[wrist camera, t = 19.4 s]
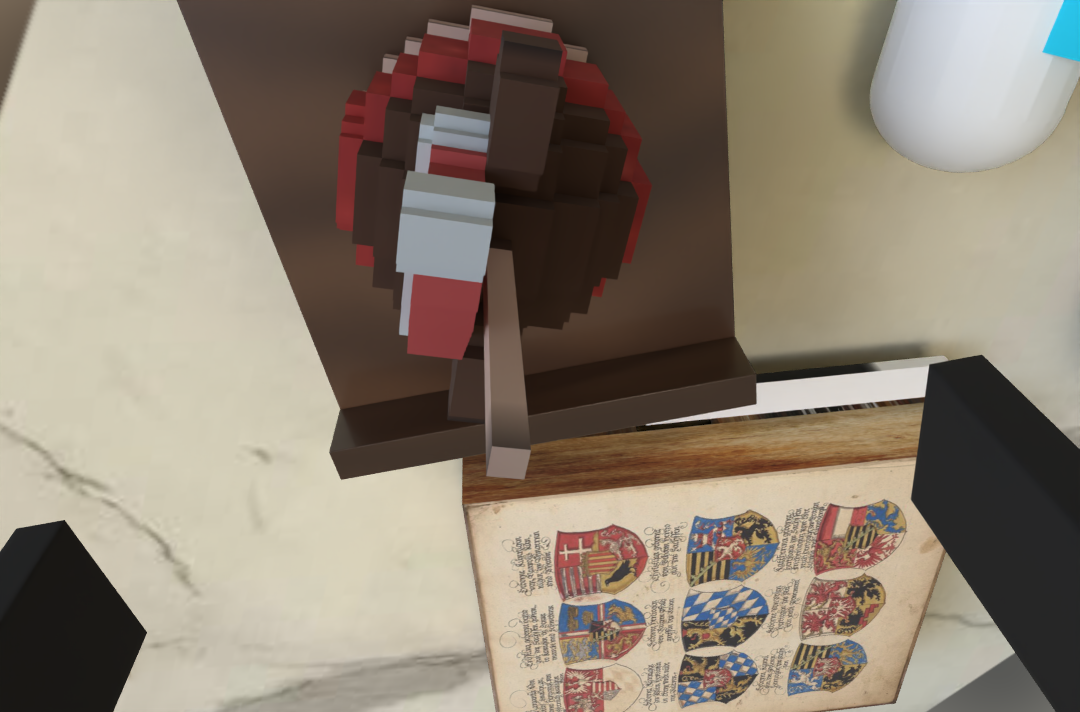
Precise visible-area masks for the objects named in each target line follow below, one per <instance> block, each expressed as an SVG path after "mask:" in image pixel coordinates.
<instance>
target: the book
mask: <svg viewBox="0 0 1080 712" xmlns="http://www.w3.org/2000/svg"><path fill="white" fill-rule="evenodd" d="M945 361H949V360H948V359H947V358H946V357H945V356H934V357H924V358H914V359H904V360H894V361H884V362H874V363H864V364H854V365H844V366H834V367H824V368H814V369H804V370H794V371H784V372H774V373H764V374H756V391H757V404H756V405H750V406H745V407H739V408H734V409H728V410H723V411H717V412H712V413H706V414H701V415H695V416H690V417H684V418H679V419H673V420H668V421H662V422H656V423H651V424H646V425H654V424H664V423H674V422H684V421H693V420H703V419H711V422H712V424H710V425H701V426H691V427H681V428H671V429H661V430H652V431H642V432H637V429H636V426H634V427H629V428H623V429H618V430H612V431H607V432H601V433H596V434H590V435H585V436H579V437H574V438H568V439H563V440H557V441H552V442H546V443H541V444H535V445H531V452H530V457H529V461H528V465H527V470H526V474H525V479H513V478H502V477H491V476H486V454H480V455H475V456H469V457H464V458H463V476H462V505H463V511H464V518H465V524H466V530H467V536H468V542H469V548H470V555H471V561H472V567H473V573H474V579H475V585H476V592H477V598H478V604H479V610H480V616H481V622H482V629H483V635H484V641H485V647H486V653H487V659H488V666H489V672H490V678H491V684H492V690H493V696H494V703H495V709H496V712H825V711H834V710H843V709H851V708H860V707H868V706H877V705H885V704H894V703H896V701H897V698H898V695H899V692H900V689H901V686H902V683H903V680H904V677H905V674H906V671H907V668H908V665H909V662H910V659H911V656H912V653H913V649H914V646H915V643H916V640H917V637H918V634H919V631H920V628H921V625H922V622H923V619H924V616H925V613H926V610H927V607H928V604H929V601H930V598H931V595H932V592H933V589H934V586H935V583H936V580H937V577H938V574H939V571H940V568H941V565H942V562H943V559H944V556H945V553H946V550H945V549H944V548H943V546H942V545H941V543H940V542H939V540H938V539H937V537H936V536H935V534H934V533H933V531H932V530H931V529H930V527H929V526H928V524H927V523H926V521H925V520H924V518H923V517H922V515H921V514H920V512H919V511H918V510H917V508H916V507H915V505H914V504H913V502H912V501H911V494H912V486H913V479H914V472H915V465H916V457H917V450H918V443H919V436H920V428H921V421H922V414H923V407H924V399H925V392H926V385H927V378H928V370H929V364H934V363H940V362H945Z"/></svg>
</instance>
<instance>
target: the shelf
mask: <svg viewBox="0 0 1080 712" xmlns="http://www.w3.org/2000/svg"><path fill="white" fill-rule="evenodd" d="M177 2H178V5H179V7H180V10H181V12H182V15H183V17H184V20H185V22H186V25H187V27H188V30H189V32H190V35H191V37H192V40H193V42H194V45H195V47H196V50H197V52H198V55H199V57H200V60H201V62H202V65H203V67H204V70H205V72H206V75H207V77H208V80H209V82H210V85H211V87H212V90H213V92H214V95H215V97H216V100H217V102H218V105H219V107H220V110H221V112H222V115H223V117H224V120H225V122H226V125H227V127H228V130H229V132H230V135H231V137H232V140H233V142H234V145H235V147H236V150H237V152H238V155H239V157H240V160H241V162H242V165H243V167H244V170H245V172H246V175H247V177H248V180H249V182H250V185H251V187H252V190H253V192H254V195H255V197H256V200H257V202H258V205H259V207H260V210H261V212H262V215H263V217H264V220H265V222H266V225H267V227H268V230H269V232H270V235H271V237H272V240H273V242H274V245H275V247H276V250H277V252H278V255H279V257H280V260H281V262H282V265H283V267H284V270H285V272H286V275H287V277H288V280H289V282H290V285H291V287H292V290H293V292H294V295H295V297H296V300H297V302H298V305H299V307H300V310H301V312H302V315H303V317H304V320H305V322H306V325H307V327H308V330H309V332H310V335H311V337H312V340H313V342H314V345H315V347H316V350H317V352H318V355H319V357H320V360H321V362H322V365H323V367H324V370H325V372H326V375H327V377H328V380H329V382H330V385H331V387H332V390H333V392H334V395H335V397H336V400H337V402H338V405H339V407H340V412H339V416H338V420H337V424H336V428H335V432H334V436H333V440H332V443H331V447H330V451H329V453H330V455H331V457H332V460H333V462H334V464H335V467H336V469H337V471H338V474H339V476H340V478H341V480H342V479H348V478H353V477H359V476H364V475H370V474H375V473H381V472H386V471H392V470H397V469H403V468H408V467H414V466H420V465H425V464H431V463H436V462H442V461H447V460H453V459H458V458H464V457H469V456H475V455H480V454H486V429H485V424H481V423H471V422H461V421H452V420H447V419H448V399H449V389H450V382H451V374H452V361H453V359H451V358H442V357H433V356H425V355H416V354H407V350H408V349H407V348H408V336H406V335H399V327H400V317H401V310H397V309H393V290H391V289H383V288H376V287H372V283H373V269H374V267H369V266H361V265H356V249H357V244H352V233H353V231H347V230H340V229H339V228H337V223H336V202H337V179H338V157H339V136H340V134H341V125H342V120H343V118H344V116H345V106H346V102H347V100H348V98H349V96H350V95H351V93H352V91H353V90H359V91H367V90H368V88H369V86H370V84H371V82H372V80H373V78H374V75H375V73H376V71H378V72H382V69H383V57H384V55H385V54H390V55H396V56H399V55H400V52H401V53H404V52H405V40H406V38H407V36H408V37H413V38H419V39H423V37H424V34H425V33H426V34H427V29H428V21H429V19H433V20H439V21H444V22H449V23H455V24H460V25H466V26H469V25H470V17H471V9H472V5H476V6H482V7H487V8H492V9H497V10H503V11H508V12H513V13H518V14H524V15H529V16H534V17H539V18H545V19H550V20H552V22H553V26H552V32H551V33H555V34H559V36H560V38H561V40H562V42H563V44H568V45H573V46H579V47H584V48H586V49H587V51H588V55H587V60H586V63H590V64H596V65H597V67H598V68H599V70H600V71H601V73H602V75H603V76H604V78H605V79H606V81H607V83H608V84H609V87H608V89H609V90H612V91H613V93H614V94H615V96H616V97H617V99H618V101H619V102H620V104H621V105H622V107H623V109H624V110H625V112H626V114H627V115H628V117H629V118H630V120H631V122H632V123H633V125H634V126H635V128H636V130H637V131H638V133H639V135H640V136H641V138H642V142H641V146H640V149H639V153H638V157H637V159H638V161H639V163H640V165H641V166H642V168H643V170H644V172H645V174H646V175H647V177H648V179H649V181H650V182H651V184H652V188H651V191H650V195H649V199H648V202H647V206H646V210H645V213H644V217H643V221H642V224H641V228H640V232H639V235H638V239H637V243H636V246H635V250H634V254H633V257H632V261H631V264H628V263H622V264H621V268H620V272H619V276H618V279H617V280H615V279H608V278H606V282H605V286H604V290H603V294H602V297H596V296H592V297H591V301H590V305H589V309H588V313H587V314H579V313H571V314H570V319H569V323H568V322H564V324H563V329H562V330H558V329H550V328H542V327H534V326H527V328H524V329H523V334H522V336H520V340H521V350H522V361H523V371H524V382H525V392H526V403H527V413H528V424H529V434H530V445H535V444H541V443H546V442H552V441H557V440H563V439H568V438H574V437H579V436H585V435H590V434H596V433H601V432H607V431H612V430H618V429H623V428H629V427H634V426H640V425H645V424H651V423H656V422H662V421H668V420H673V419H679V418H684V417H690V416H695V415H701V414H706V413H712V412H717V411H723V410H728V409H734V408H739V407H745V406H750V405H756V404H757V391H756V373H755V371H754V370H753V368H752V366H751V364H750V362H749V361H748V359H747V357H746V355H745V353H744V352H743V350H742V348H741V346H740V345H739V343H738V341H737V339H736V337H735V326H734V299H733V272H732V244H731V217H730V190H729V163H728V135H727V108H726V81H725V53H724V26H723V0H177Z"/></svg>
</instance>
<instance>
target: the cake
mask: <svg viewBox="0 0 1080 712" xmlns="http://www.w3.org/2000/svg"><path fill="white" fill-rule="evenodd" d="M552 26H553V22H552V20H550V19H545V18H539V17H534V16H529V15H524V14H518V13H513V12H508V11H503V10H497V9H492V8H487V7H482V6H476V5H472V9H471V17H470V25H469V26H466V25H460V24H455V23H449V22H444V21H439V20H433V19H429V21H428V29H427V34H426V33H425V34H424V37H423V39H419V38H413V37H408V36H407V38H406V40H405V52H404V53H401V52H400V55H399V56H396V55H390V54H385V55H384V57H383V69H382V72H378V71H376V73H375V75H374V78H373V80H372V82H371V84H370V86H369V88H368V90H367V91H359V90H353V91H352V93H351V95H350V96H349V98H348V100H347V102H346V106H345V116H344V118H343V120H342V125H341V134H340V136H339V157H338V179H337V202H336V223H337V228H339V229H340V230H347V231H353V233H352V244H357V249H356V265H361V266H369V267H374V269H373V283H372V287H376V288H383V289H391V290H393V309H397V310H401V317H400V327H399V335H406V336H408V348H407V349H408V350H407V354H416V355H425V356H433V357H442V358H451V359H453V361H452V374H451V382H450V389H449V399H448V419H447V420H452V421H461V422H471V423H481V424H485V429H486V476H491V477H502V478H513V479H525V474H526V470H527V465H528V461H529V457H530V452H531V445H530V434H529V424H528V413H527V403H526V392H525V382H524V371H523V361H522V350H521V340H520V336H522V334H523V329H524V328H527V326H534V327H542V328H550V329H558V330H562V329H563V324H564V322H568V323H569V319H570V314H571V313H579V314H587V313H588V309H589V305H590V301H591V297H592V296H596V297H602V294H603V290H604V286H605V282H606V278H608V279H615V280H617V279H618V276H619V272H620V268H621V264H622V263H628V264H631V261H632V257H633V254H634V250H635V246H636V243H637V239H638V235H639V232H640V228H641V224H642V221H643V217H644V213H645V210H646V206H647V202H648V199H649V195H650V191H651V188H652V184H651V182H650V181H649V179H648V177H647V175H646V174H645V172H644V170H643V168H642V166H641V165H640V163H639V161H638V159H637V157H638V153H639V149H640V146H641V142H642V138H641V136H640V135H639V133H638V131H637V130H636V128H635V126H634V125H633V123H632V122H631V120H630V118H629V117H628V115H627V114H626V112H625V110H624V109H623V107H622V105H621V104H620V102H619V101H618V99H617V97H616V96H615V94H614V93H613V91H612V90H609V89H608V87H609V84H608V83H607V81H606V79H605V78H604V76H603V75H602V73H601V71H600V70H599V68H598V67H597V65H596V64H590V63H586V60H587V55H588V51H587V49H586V48H584V47H579V46H573V45H568V44H563V42H562V40H561V38H560V36H559V34H555V33H551V32H552Z"/></svg>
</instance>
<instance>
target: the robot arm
mask: <svg viewBox="0 0 1080 712" xmlns="http://www.w3.org/2000/svg"><path fill="white" fill-rule="evenodd" d="M911 501H912V502H913V504H914V505H915V507H916V508H917V510H918V511H919V512H920V514H921V515H922V517H923V518H924V520H925V521H926V523H927V524H928V526H929V527H930V529H931V530H932V531H933V533H934V534H935V536H936V537H937V539H938V540H939V542H940V543H941V545H942V546H943V548H944V549H945V550H946V552H947V553H948V555H949V556H950V558H951V559H952V561H953V562H954V564H955V565H956V567H957V568H958V569H959V571H960V572H961V574H962V575H963V577H964V578H965V580H966V581H967V583H968V584H969V586H970V587H971V588H972V590H973V591H974V593H975V594H976V596H977V597H978V599H979V600H980V602H981V603H982V605H983V606H984V607H985V609H986V610H987V612H988V613H989V615H990V616H991V618H992V619H993V621H994V622H995V624H996V625H997V626H998V628H999V629H1000V631H1001V632H1002V634H1003V635H1004V637H1005V638H1006V640H1007V641H1008V643H1009V644H1010V645H1011V647H1012V648H1013V650H1014V651H1015V653H1016V654H1017V656H1018V657H1019V658H1020V660H1021V662H1022V663H1023V664H1024V666H1025V667H1026V669H1027V670H1028V672H1029V673H1030V675H1031V676H1032V677H1033V679H1034V681H1035V682H1036V683H1037V685H1038V686H1039V688H1040V689H1041V691H1042V692H1043V694H1044V695H1045V697H1046V698H1047V699H1048V701H1049V702H1050V704H1051V705H1052V707H1053V708H1054V709H1055V711H1056V712H1080V449H1079V448H1078V447H1077V446H1076V445H1075V444H1074V443H1073V442H1072V441H1070V440H1069V439H1068V438H1067V437H1066V436H1065V435H1064V434H1063V433H1062V432H1061V431H1060V430H1059V429H1058V428H1057V427H1056V426H1055V425H1054V424H1053V423H1052V422H1051V421H1050V420H1049V419H1048V418H1047V417H1046V416H1045V415H1044V414H1043V413H1042V412H1041V411H1040V410H1038V409H1037V408H1036V407H1035V406H1034V405H1033V404H1032V403H1031V402H1030V401H1029V400H1028V399H1027V398H1026V397H1025V396H1024V395H1023V394H1022V393H1021V392H1020V391H1019V390H1018V389H1017V388H1016V387H1015V386H1014V385H1013V384H1012V383H1011V382H1010V381H1009V380H1007V379H1006V378H1005V377H1004V376H1003V375H1002V374H1001V373H1000V372H999V371H998V370H997V369H996V368H995V367H994V366H993V365H992V364H991V363H990V362H989V361H988V360H987V359H986V358H985V357H984V356H983V355H978V356H973V357H967V358H962V359H956V360H951V361H945V362H940V363H934V364H929V370H928V378H927V385H926V392H925V399H924V407H923V414H922V421H921V428H920V436H919V443H918V450H917V457H916V465H915V472H914V479H913V486H912V494H911ZM146 634H147V632H146V630H145V629H144V628H143V626H142V625H141V623H140V622H139V621H138V619H137V618H136V617H135V615H134V614H133V613H132V611H131V610H130V609H129V607H128V606H127V604H126V603H125V602H124V600H123V599H122V598H121V596H120V595H119V594H118V592H117V591H116V589H115V588H114V587H113V585H112V584H111V583H110V581H109V580H108V579H107V577H106V576H105V575H104V573H103V572H102V570H101V569H100V568H99V566H98V565H97V564H96V562H95V561H94V560H93V558H92V557H91V555H90V554H89V553H88V551H87V550H86V549H85V547H84V546H83V545H82V543H81V542H80V541H79V539H78V538H77V536H76V535H75V534H74V532H73V531H72V530H71V528H70V527H69V526H68V524H67V523H66V521H65V520H63V521H57V522H52V523H46V524H40V525H35V526H29V527H24V528H18V529H16V530H15V531H14V533H13V534H12V536H11V537H10V539H9V540H8V541H7V543H6V544H5V546H4V547H3V549H2V550H1V551H0V712H113V711H114V708H115V706H116V704H117V701H118V699H119V697H120V694H121V692H122V690H123V687H124V685H125V683H126V681H127V678H128V676H129V674H130V671H131V669H132V667H133V664H134V662H135V660H136V657H137V655H138V653H139V650H140V648H141V646H142V643H143V641H144V639H145V636H146Z"/></svg>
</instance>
